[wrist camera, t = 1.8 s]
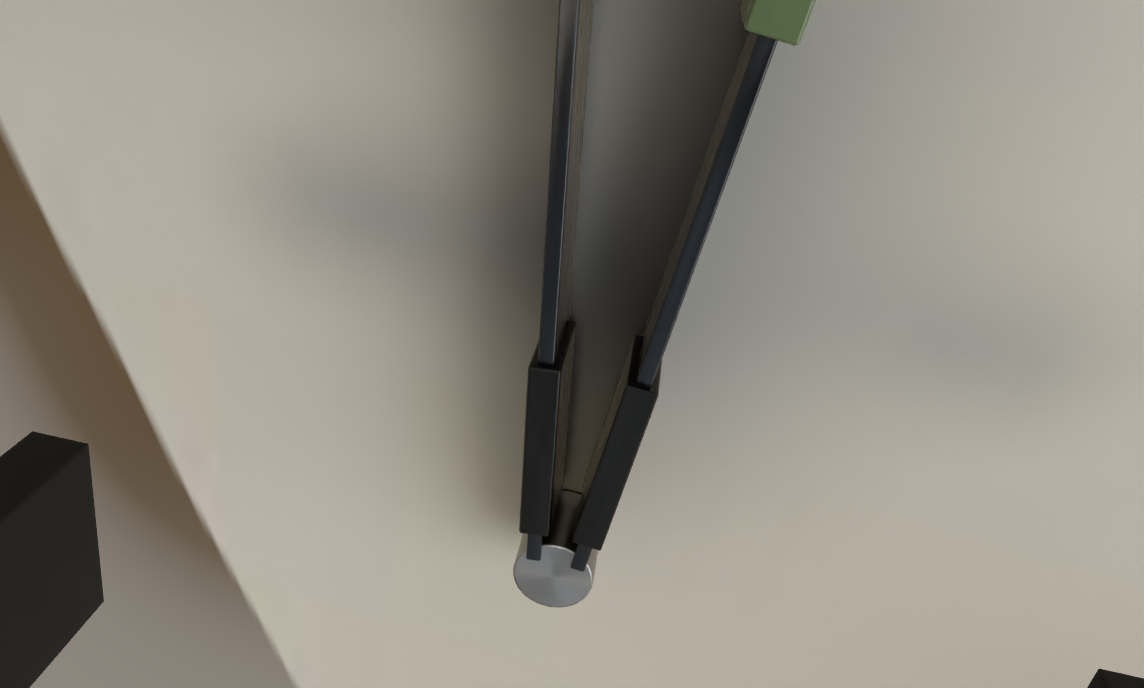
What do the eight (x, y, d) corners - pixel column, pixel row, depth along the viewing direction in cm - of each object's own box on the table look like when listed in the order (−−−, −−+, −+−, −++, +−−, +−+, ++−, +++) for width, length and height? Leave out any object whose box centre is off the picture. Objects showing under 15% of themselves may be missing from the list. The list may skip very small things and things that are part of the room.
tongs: (652, 569, 27) (645, 643, 24) (468, 528, 27) (442, 596, 25) (845, -139, 18) (869, -143, 16) (572, -190, 19) (548, -203, 16)
